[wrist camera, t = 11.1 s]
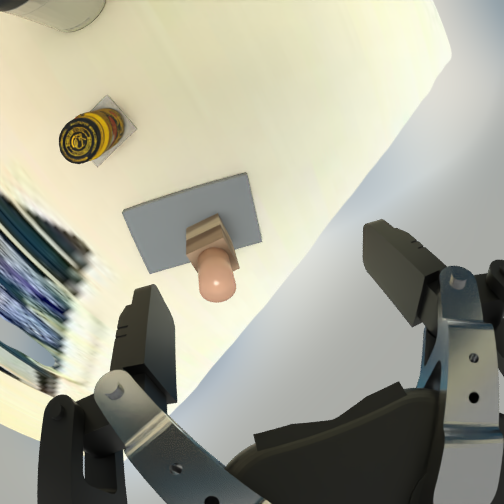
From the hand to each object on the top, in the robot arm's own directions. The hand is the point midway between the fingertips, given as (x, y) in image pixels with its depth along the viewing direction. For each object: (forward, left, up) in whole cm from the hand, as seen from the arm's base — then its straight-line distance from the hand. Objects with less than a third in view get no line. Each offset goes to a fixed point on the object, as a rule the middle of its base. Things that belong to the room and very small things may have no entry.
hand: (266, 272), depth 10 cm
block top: (+15, -4, -29) cm, 33 cm away
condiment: (-6, -15, -34) cm, 38 cm away
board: (+13, -6, -34) cm, 37 cm away
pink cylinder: (+15, -4, -25) cm, 29 cm away
